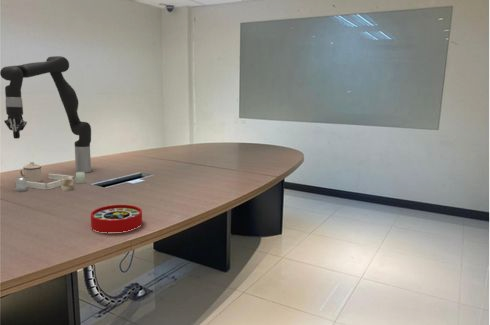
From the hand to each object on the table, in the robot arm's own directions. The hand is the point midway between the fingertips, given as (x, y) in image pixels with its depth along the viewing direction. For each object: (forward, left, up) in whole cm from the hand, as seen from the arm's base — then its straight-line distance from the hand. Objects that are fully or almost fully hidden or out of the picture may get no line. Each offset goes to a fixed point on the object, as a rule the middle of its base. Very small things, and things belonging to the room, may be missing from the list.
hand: (16, 138), depth 193 cm
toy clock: (-48, +72, -28) cm, 91 cm away
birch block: (-24, +10, -27) cm, 38 cm away
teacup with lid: (-3, -12, -27) cm, 30 cm away
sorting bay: (-13, -5, -27) cm, 30 cm away
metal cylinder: (-2, +8, -27) cm, 28 cm away
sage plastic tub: (-30, -4, -27) cm, 41 cm away
